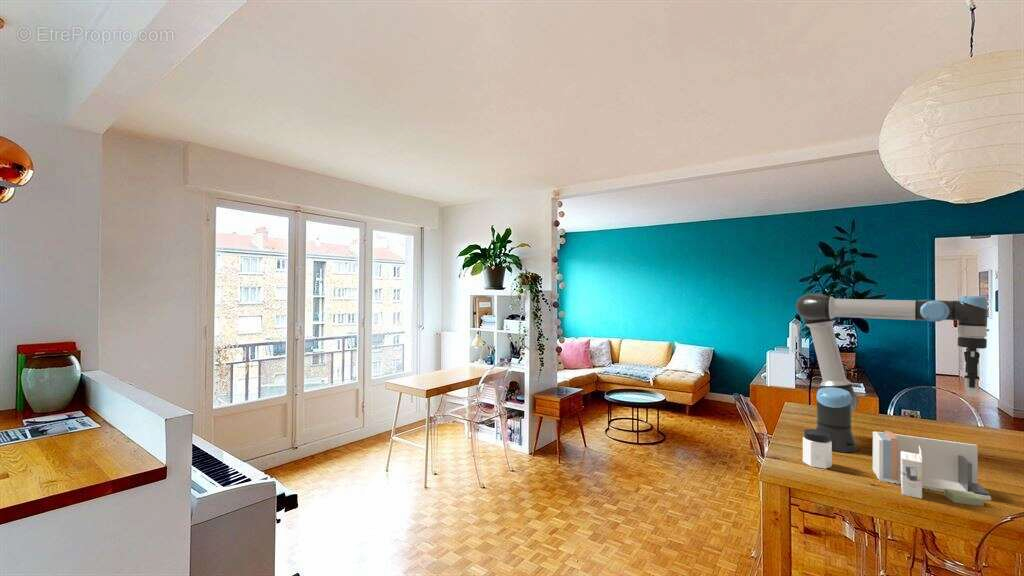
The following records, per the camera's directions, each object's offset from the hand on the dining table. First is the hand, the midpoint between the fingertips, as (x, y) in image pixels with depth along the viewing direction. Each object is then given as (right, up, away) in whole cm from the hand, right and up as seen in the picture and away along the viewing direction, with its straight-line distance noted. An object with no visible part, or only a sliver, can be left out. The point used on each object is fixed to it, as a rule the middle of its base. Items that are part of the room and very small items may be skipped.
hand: (970, 393), depth 164 cm
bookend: (-23, -25, -23) cm, 41 cm away
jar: (-58, -27, -1) cm, 64 cm away
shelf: (-32, -27, -17) cm, 45 cm away
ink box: (-44, -27, -23) cm, 56 cm away
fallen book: (-32, -27, -29) cm, 51 cm away
